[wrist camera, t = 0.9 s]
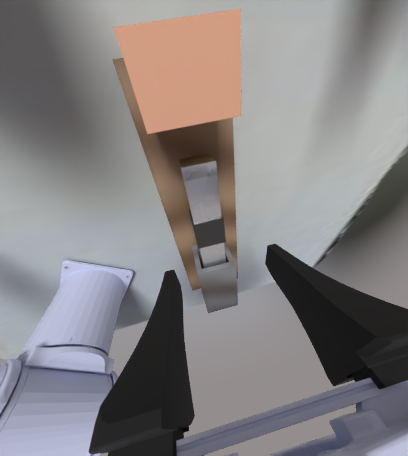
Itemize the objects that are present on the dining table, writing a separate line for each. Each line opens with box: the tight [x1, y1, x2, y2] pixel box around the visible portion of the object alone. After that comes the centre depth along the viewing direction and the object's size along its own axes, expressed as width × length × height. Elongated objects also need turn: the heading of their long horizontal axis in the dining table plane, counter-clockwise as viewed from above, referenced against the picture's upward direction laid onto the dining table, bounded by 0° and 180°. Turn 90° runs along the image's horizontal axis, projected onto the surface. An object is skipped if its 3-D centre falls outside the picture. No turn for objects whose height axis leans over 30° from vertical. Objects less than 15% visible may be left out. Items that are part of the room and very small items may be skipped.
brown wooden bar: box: [113, 58, 238, 313], centre depth 17 cm, size 28×8×5 cm, turn 9°
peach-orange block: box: [114, 9, 241, 134], centre depth 10 cm, size 4×5×5 cm
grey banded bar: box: [179, 154, 226, 268], centre depth 18 cm, size 19×3×3 cm, turn 9°
